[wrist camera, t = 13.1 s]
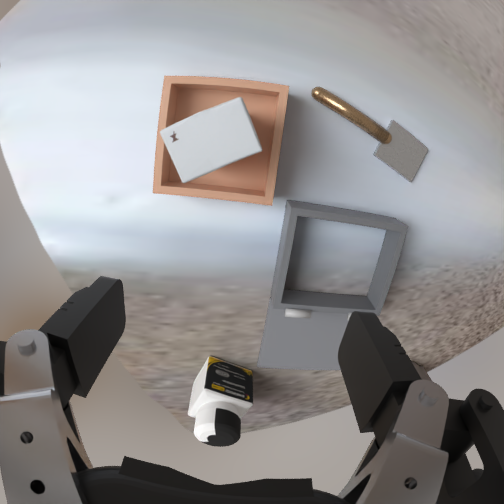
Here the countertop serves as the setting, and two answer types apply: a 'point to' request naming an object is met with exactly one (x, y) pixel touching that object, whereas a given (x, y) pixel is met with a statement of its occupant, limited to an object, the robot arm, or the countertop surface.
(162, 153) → the bin
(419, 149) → the hand shovel
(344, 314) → the bin
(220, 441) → the medicine bottle
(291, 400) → the countertop surface
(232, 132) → the skincare box
